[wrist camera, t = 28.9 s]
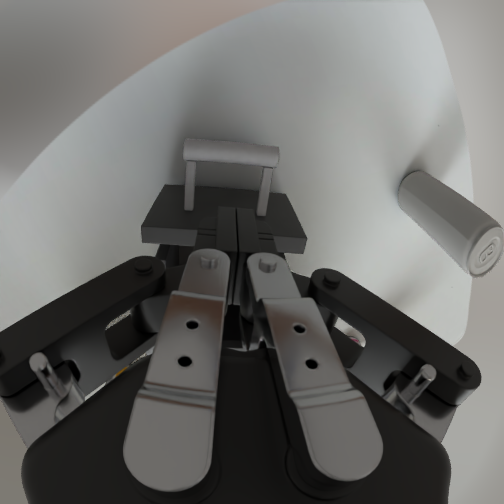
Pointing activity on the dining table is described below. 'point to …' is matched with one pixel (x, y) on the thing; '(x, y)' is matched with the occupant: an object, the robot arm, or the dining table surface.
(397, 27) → the dining table surface
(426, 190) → the beverage can
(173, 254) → the drawer
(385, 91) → the dining table surface
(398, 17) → the dining table surface
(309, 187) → the dining table surface
